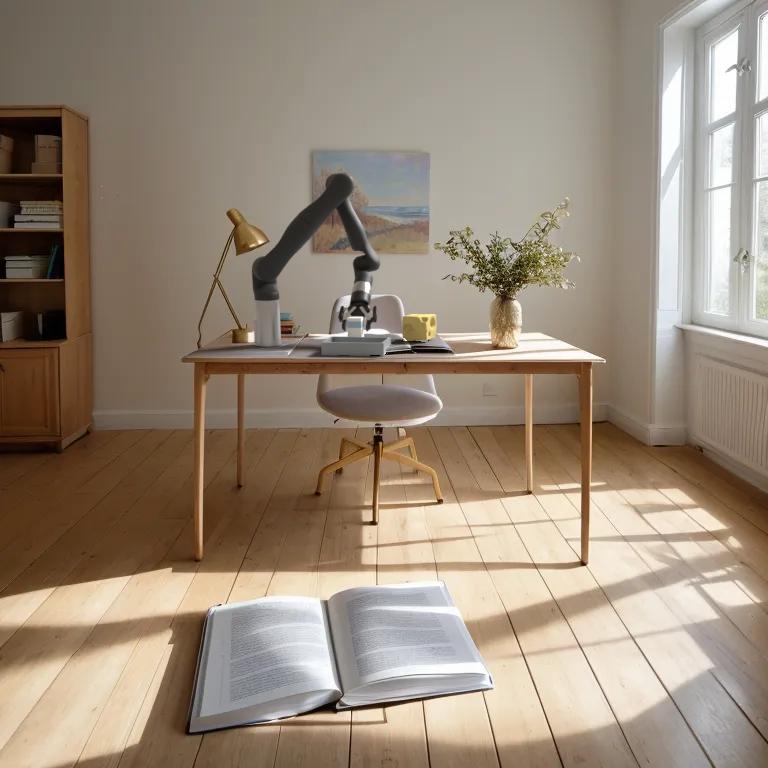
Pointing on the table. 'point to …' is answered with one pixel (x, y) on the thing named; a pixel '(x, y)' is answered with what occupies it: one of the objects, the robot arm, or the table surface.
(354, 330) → the milk carton
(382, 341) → the tray
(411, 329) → the cheese
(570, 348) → the table surface
